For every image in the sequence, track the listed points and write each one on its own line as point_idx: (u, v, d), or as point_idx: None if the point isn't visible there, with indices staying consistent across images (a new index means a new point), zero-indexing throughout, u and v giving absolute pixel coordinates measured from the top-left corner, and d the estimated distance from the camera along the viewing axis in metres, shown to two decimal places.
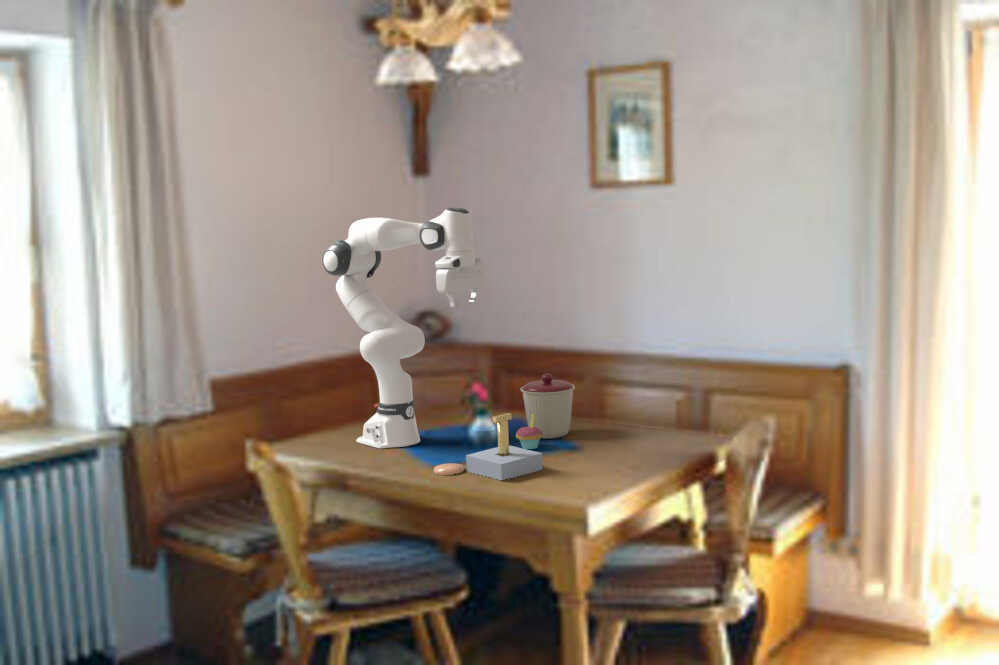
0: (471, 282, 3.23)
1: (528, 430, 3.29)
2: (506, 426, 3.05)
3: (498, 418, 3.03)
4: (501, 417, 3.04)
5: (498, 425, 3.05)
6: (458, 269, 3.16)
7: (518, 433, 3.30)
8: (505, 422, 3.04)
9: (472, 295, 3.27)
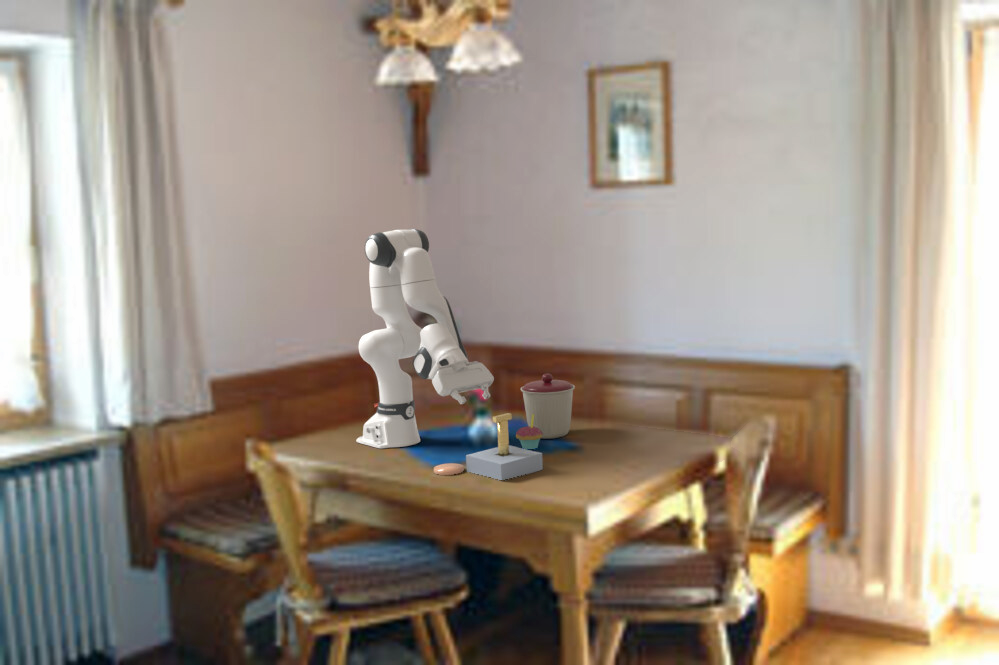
0: (473, 378, 3.17)
1: (528, 430, 3.29)
2: (506, 426, 3.05)
3: (498, 418, 3.03)
4: (501, 417, 3.04)
5: (498, 425, 3.05)
6: (449, 367, 3.14)
7: (518, 433, 3.30)
8: (505, 422, 3.04)
9: (484, 392, 3.19)
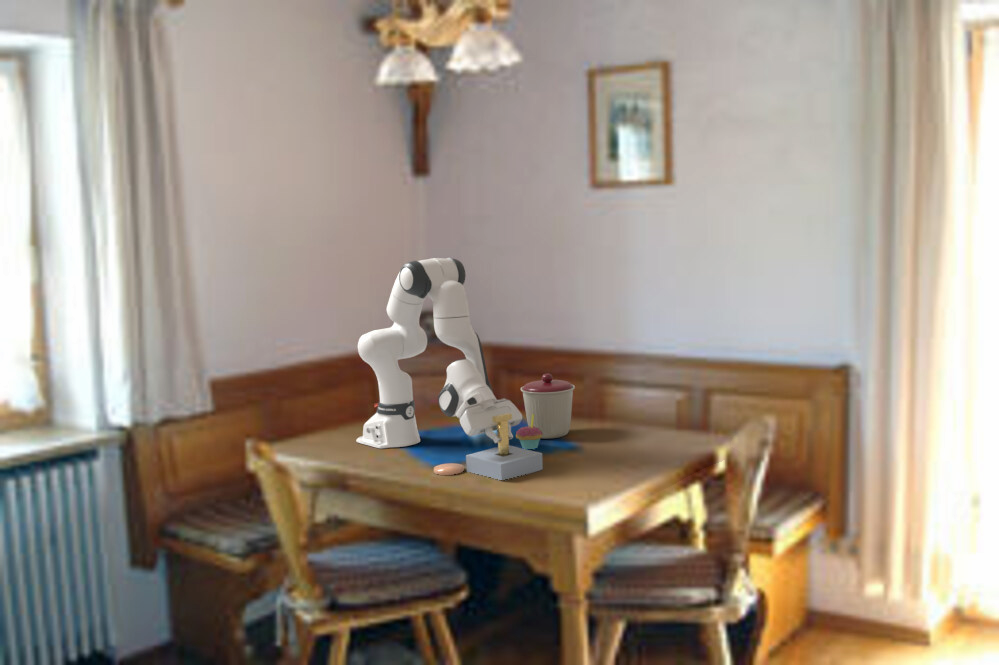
0: None
1: (528, 430, 3.29)
2: (506, 426, 3.05)
3: (498, 418, 3.03)
4: (501, 417, 3.04)
5: (498, 425, 3.05)
6: (477, 406, 3.06)
7: (518, 433, 3.30)
8: (505, 422, 3.04)
9: None
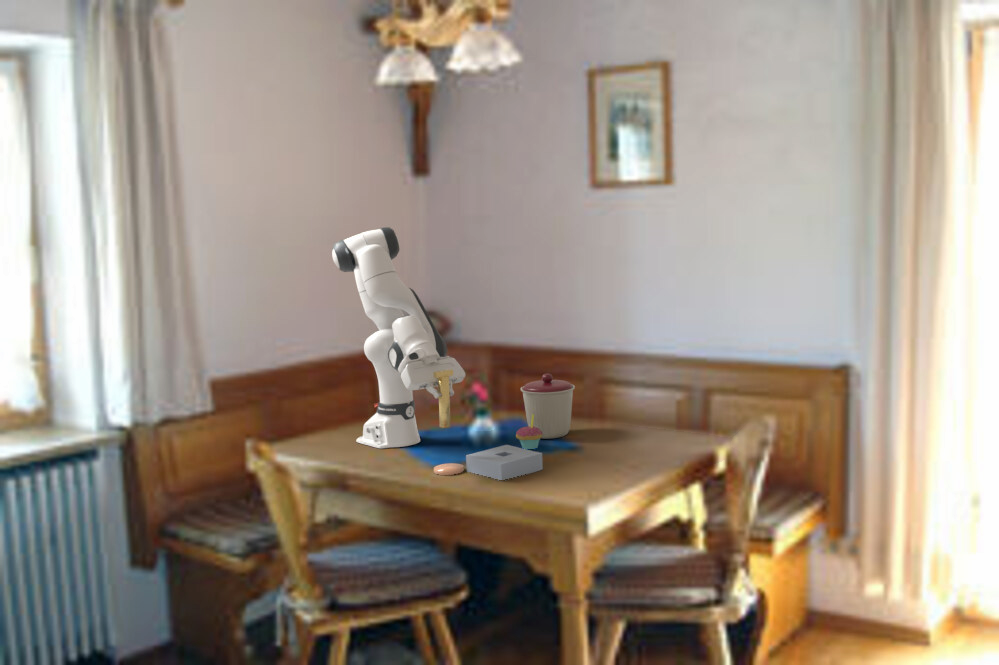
0: None
1: (528, 430, 3.29)
2: (447, 382, 3.04)
3: (439, 373, 3.03)
4: (442, 373, 3.04)
5: (439, 381, 3.04)
6: (419, 361, 3.06)
7: (518, 433, 3.30)
8: (446, 378, 3.04)
9: None
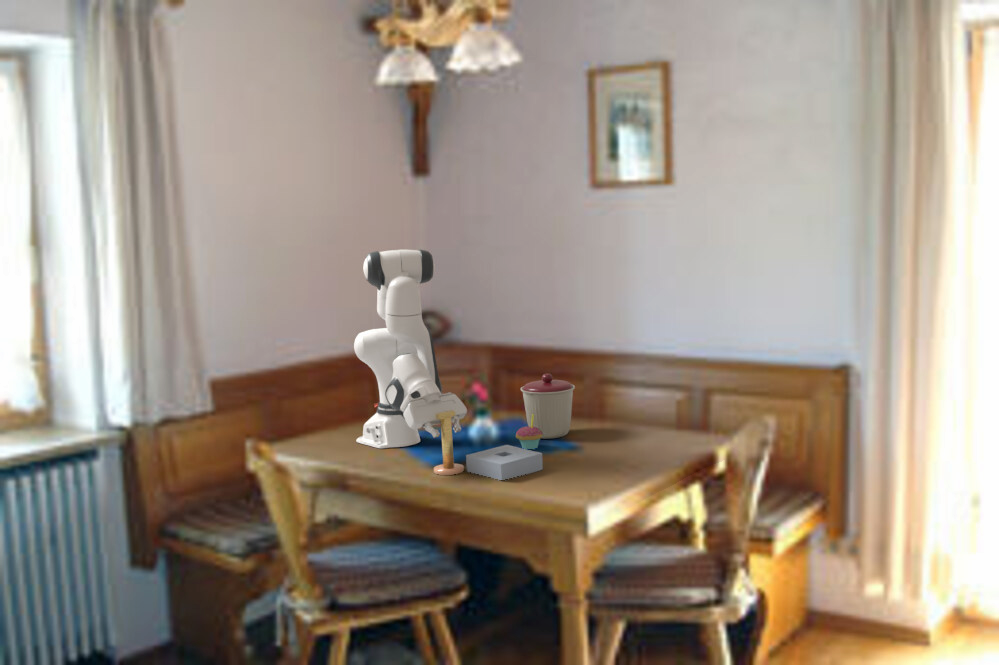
0: (446, 410, 3.11)
1: (528, 430, 3.29)
2: (449, 423, 3.07)
3: (441, 415, 3.06)
4: (444, 414, 3.06)
5: (441, 422, 3.07)
6: (421, 400, 3.08)
7: (518, 433, 3.30)
8: (448, 419, 3.06)
9: (455, 425, 3.12)
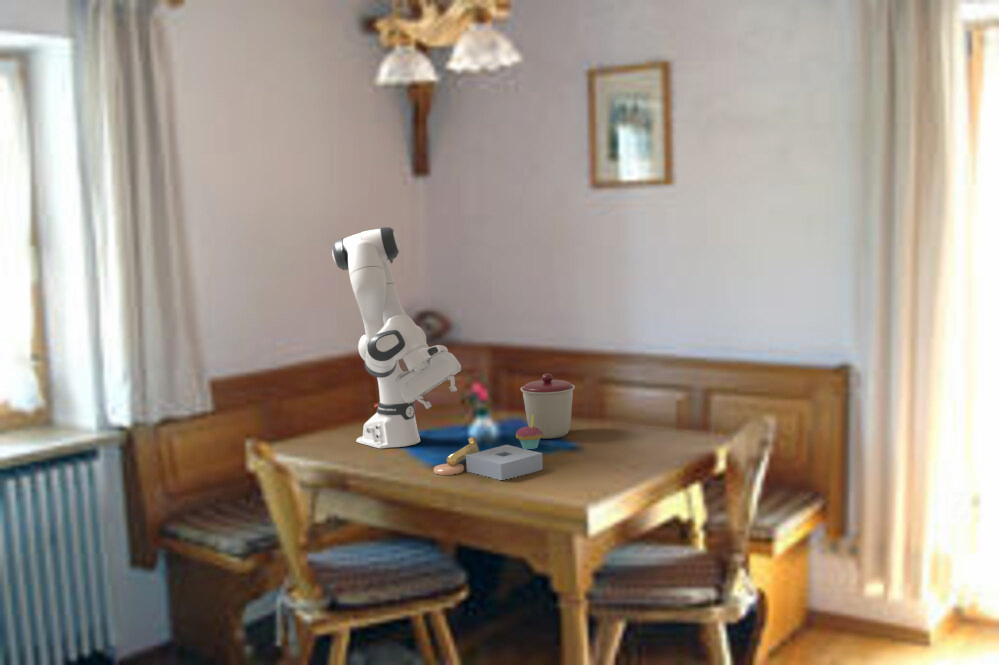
0: None
1: (528, 430, 3.29)
2: (475, 448, 3.22)
3: (474, 439, 3.25)
4: (476, 443, 3.25)
5: None
6: None
7: (518, 433, 3.30)
8: (476, 446, 3.23)
9: (424, 401, 3.15)
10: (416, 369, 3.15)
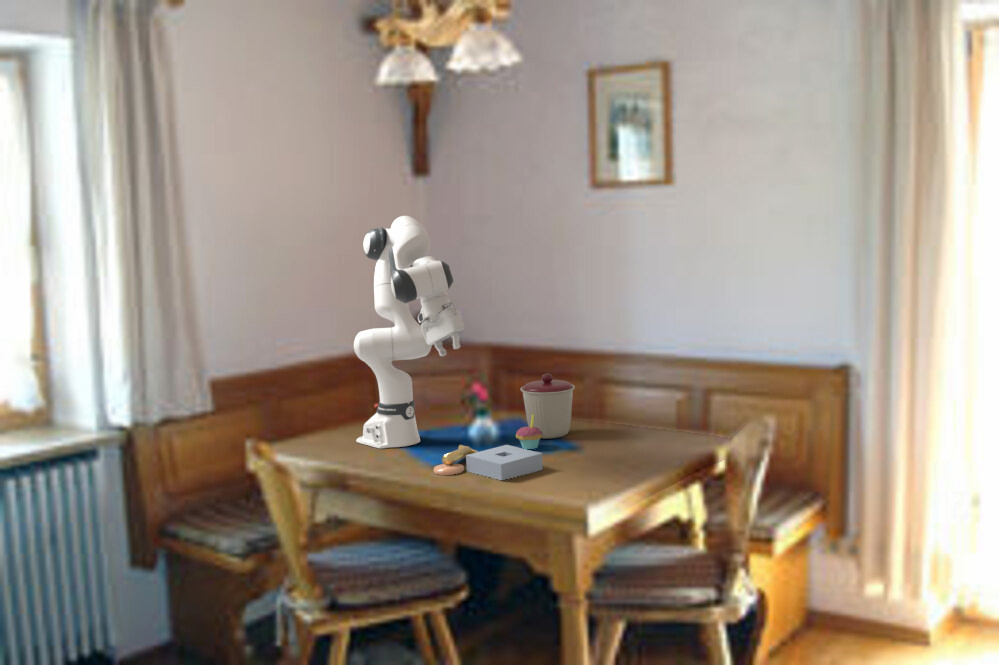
0: (442, 330, 3.14)
1: (528, 430, 3.29)
2: (466, 447, 3.24)
3: None
4: None
5: None
6: (425, 322, 3.20)
7: (518, 433, 3.30)
8: (467, 446, 3.25)
9: None
10: None
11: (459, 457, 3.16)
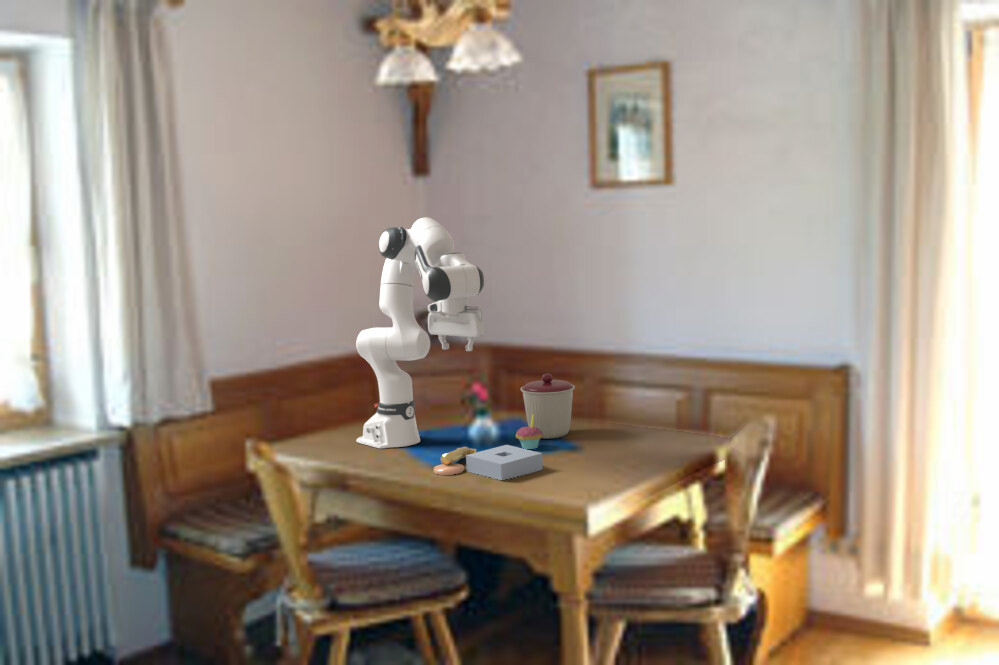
0: (458, 329, 3.17)
1: (528, 430, 3.29)
2: (464, 447, 3.24)
3: (460, 448, 3.27)
4: None
5: None
6: (438, 314, 3.19)
7: (518, 433, 3.30)
8: None
9: None
10: None
11: (458, 456, 3.16)
